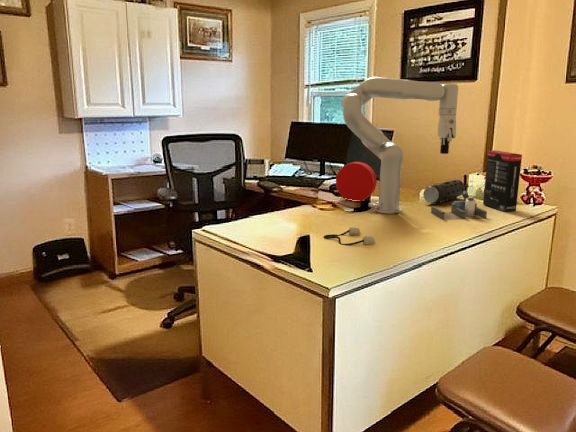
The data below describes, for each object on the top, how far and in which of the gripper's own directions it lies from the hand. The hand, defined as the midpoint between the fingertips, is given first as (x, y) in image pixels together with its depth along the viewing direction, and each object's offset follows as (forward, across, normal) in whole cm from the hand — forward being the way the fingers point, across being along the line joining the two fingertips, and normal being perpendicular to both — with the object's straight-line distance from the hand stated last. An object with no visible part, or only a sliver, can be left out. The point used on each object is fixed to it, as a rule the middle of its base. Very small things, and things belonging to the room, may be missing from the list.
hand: (444, 153), depth 217 cm
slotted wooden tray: (+27, -13, -3) cm, 30 cm away
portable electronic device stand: (+27, +3, -15) cm, 31 cm away
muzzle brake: (+28, +22, -11) cm, 37 cm away
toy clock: (+27, +27, +34) cm, 51 cm away
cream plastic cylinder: (+26, -14, -8) cm, 31 cm away
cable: (+28, -44, +52) cm, 74 cm away
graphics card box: (+27, +4, -31) cm, 42 cm away
